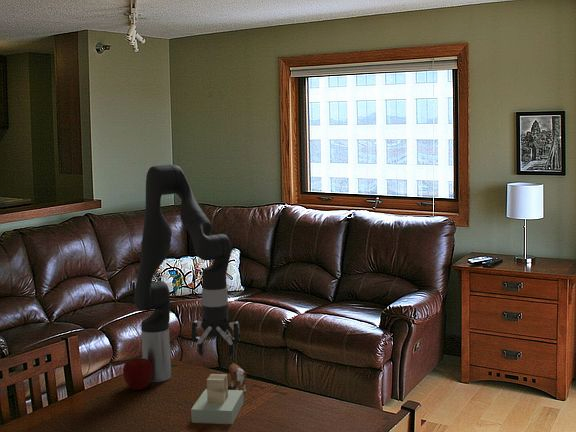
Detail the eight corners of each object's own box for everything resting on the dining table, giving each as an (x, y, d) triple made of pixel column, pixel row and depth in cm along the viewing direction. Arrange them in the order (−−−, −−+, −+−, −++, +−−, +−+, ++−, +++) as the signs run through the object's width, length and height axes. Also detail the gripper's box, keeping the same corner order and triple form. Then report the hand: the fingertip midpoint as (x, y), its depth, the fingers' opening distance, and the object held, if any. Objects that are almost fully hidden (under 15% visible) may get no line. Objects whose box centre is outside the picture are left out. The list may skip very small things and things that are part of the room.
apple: (144, 395, 235) (143, 364, 234) (118, 392, 238) (116, 362, 237) (158, 384, 244) (157, 355, 243) (133, 382, 247) (131, 353, 246)
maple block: (211, 396, 222) (211, 373, 221) (228, 396, 221) (227, 374, 220) (207, 402, 217) (206, 379, 216) (224, 403, 216) (223, 380, 215)
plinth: (205, 401, 229) (205, 389, 228) (243, 402, 227) (243, 390, 226) (191, 422, 213) (191, 409, 212) (232, 424, 211) (231, 410, 211)
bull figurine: (236, 397, 231) (235, 372, 230) (228, 383, 244) (227, 359, 243) (249, 396, 232) (249, 371, 231) (240, 381, 245) (240, 358, 244)
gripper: (241, 299, 218) (242, 352, 220) (194, 298, 220) (196, 350, 222) (235, 306, 210) (237, 360, 213) (187, 305, 213) (189, 359, 215)
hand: (216, 355), depth 218 cm, fingers open, 8 cm apart
